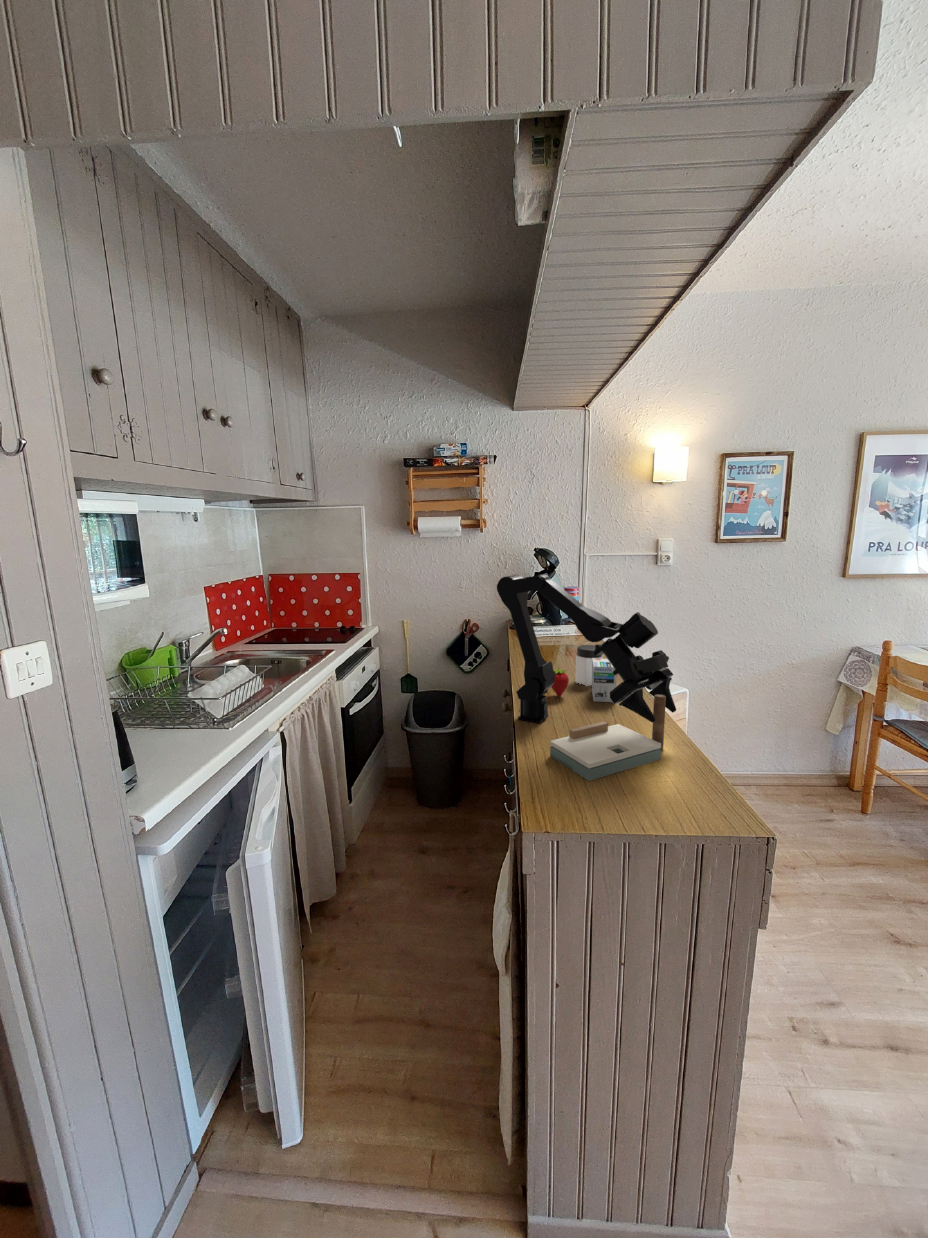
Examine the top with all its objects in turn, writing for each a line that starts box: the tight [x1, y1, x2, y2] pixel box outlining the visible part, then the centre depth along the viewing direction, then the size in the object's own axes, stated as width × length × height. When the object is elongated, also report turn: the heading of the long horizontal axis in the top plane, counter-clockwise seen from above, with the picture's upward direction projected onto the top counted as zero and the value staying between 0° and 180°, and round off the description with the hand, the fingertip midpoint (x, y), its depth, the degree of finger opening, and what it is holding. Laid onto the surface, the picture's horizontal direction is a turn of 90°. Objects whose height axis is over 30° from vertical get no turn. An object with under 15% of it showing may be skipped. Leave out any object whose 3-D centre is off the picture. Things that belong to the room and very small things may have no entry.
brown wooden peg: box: [651, 695, 666, 751], centre depth 114 cm, size 2×2×12 cm
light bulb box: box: [591, 658, 618, 703], centre depth 151 cm, size 11×7×11 cm, turn 169°
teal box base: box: [549, 745, 662, 782], centre depth 111 cm, size 13×20×2 cm, turn 117°
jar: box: [575, 644, 604, 687], centre depth 165 cm, size 9×8×12 cm
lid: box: [549, 721, 661, 768], centre depth 110 cm, size 13×20×3 cm, turn 116°
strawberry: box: [551, 668, 570, 697], centre depth 152 cm, size 6×8×10 cm
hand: (664, 716), depth 113 cm, fingers open, 9 cm apart
